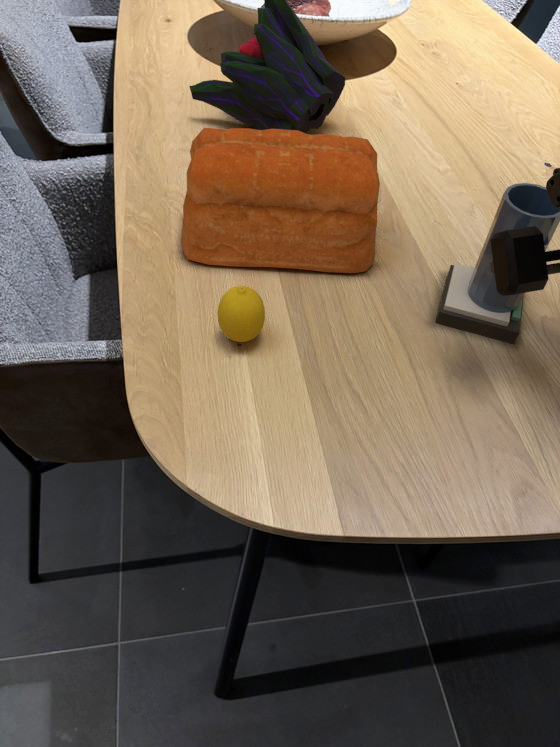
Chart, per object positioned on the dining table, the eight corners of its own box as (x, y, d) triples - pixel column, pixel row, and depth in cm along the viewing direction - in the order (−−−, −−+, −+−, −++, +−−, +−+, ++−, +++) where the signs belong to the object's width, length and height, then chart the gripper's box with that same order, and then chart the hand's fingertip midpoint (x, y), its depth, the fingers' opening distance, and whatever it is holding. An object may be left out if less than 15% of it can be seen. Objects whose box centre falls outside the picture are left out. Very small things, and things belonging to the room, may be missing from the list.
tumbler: (529, 309, 76) (577, 214, 65) (481, 315, 74) (522, 220, 64) (505, 275, 80) (546, 180, 69) (458, 280, 79) (494, 185, 68)
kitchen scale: (520, 294, 82) (527, 278, 80) (514, 344, 75) (522, 328, 73) (447, 275, 83) (452, 259, 81) (435, 322, 77) (441, 306, 75)
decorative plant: (270, 199, 109) (165, 97, 115) (373, 110, 112) (266, 16, 118) (259, 127, 89) (133, 9, 95) (385, 22, 92) (255, -86, 98)
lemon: (269, 350, 72) (272, 301, 66) (224, 359, 71) (223, 309, 65) (256, 319, 76) (258, 269, 70) (213, 326, 74) (211, 276, 68)
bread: (375, 279, 82) (398, 180, 71) (178, 266, 81) (169, 165, 70) (368, 218, 91) (387, 122, 80) (191, 207, 90) (185, 108, 79)
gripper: (714, 137, 55) (587, 181, 70) (538, 158, 50) (444, 199, 66) (725, 260, 56) (598, 276, 71) (554, 290, 52) (457, 301, 67)
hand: (527, 261), depth 68 cm, fingers open, 9 cm apart
